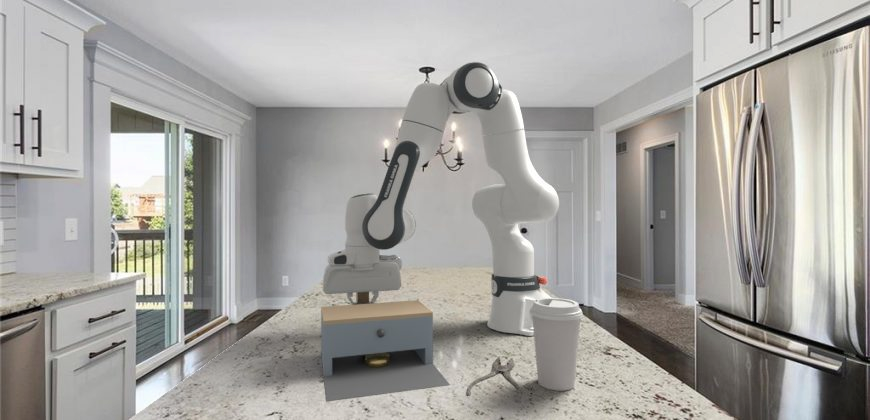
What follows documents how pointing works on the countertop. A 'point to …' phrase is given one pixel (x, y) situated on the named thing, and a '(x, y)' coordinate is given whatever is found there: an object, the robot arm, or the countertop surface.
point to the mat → (380, 376)
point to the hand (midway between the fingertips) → (362, 308)
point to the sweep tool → (364, 299)
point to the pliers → (497, 369)
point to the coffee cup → (556, 341)
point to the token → (377, 360)
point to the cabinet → (375, 330)
